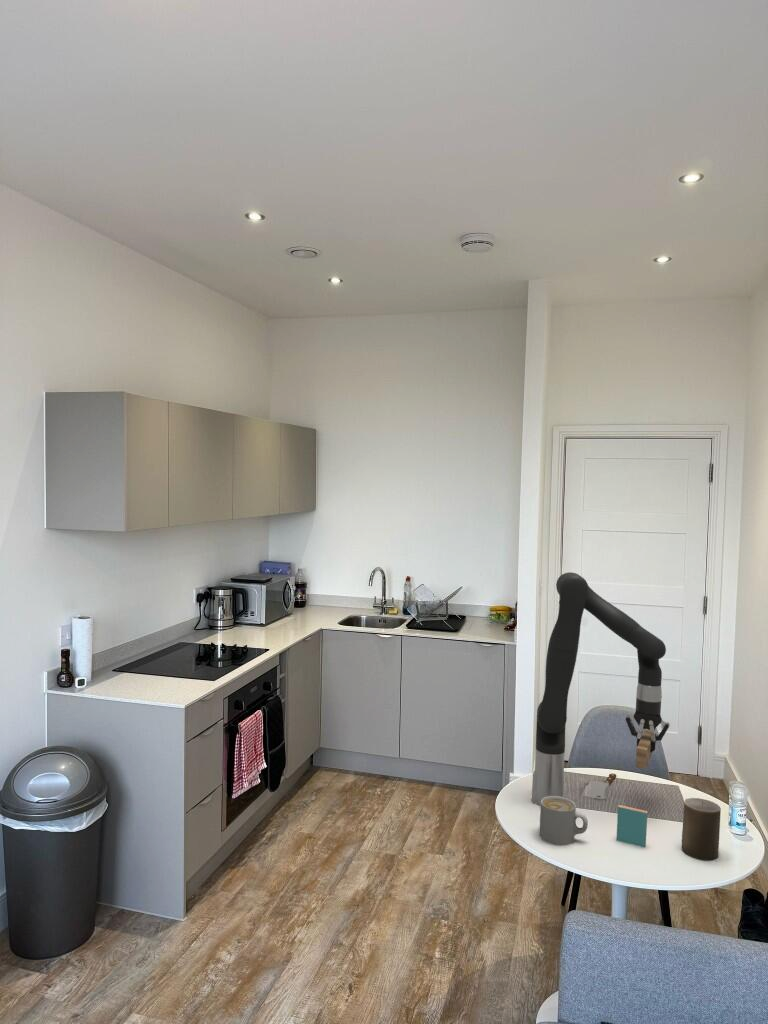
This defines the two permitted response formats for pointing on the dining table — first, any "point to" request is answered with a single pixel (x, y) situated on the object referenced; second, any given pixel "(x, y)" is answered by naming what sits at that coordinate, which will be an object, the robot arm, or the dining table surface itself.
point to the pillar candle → (701, 828)
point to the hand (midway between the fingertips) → (645, 750)
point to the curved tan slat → (644, 750)
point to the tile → (632, 825)
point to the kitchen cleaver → (600, 787)
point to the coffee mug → (560, 820)
